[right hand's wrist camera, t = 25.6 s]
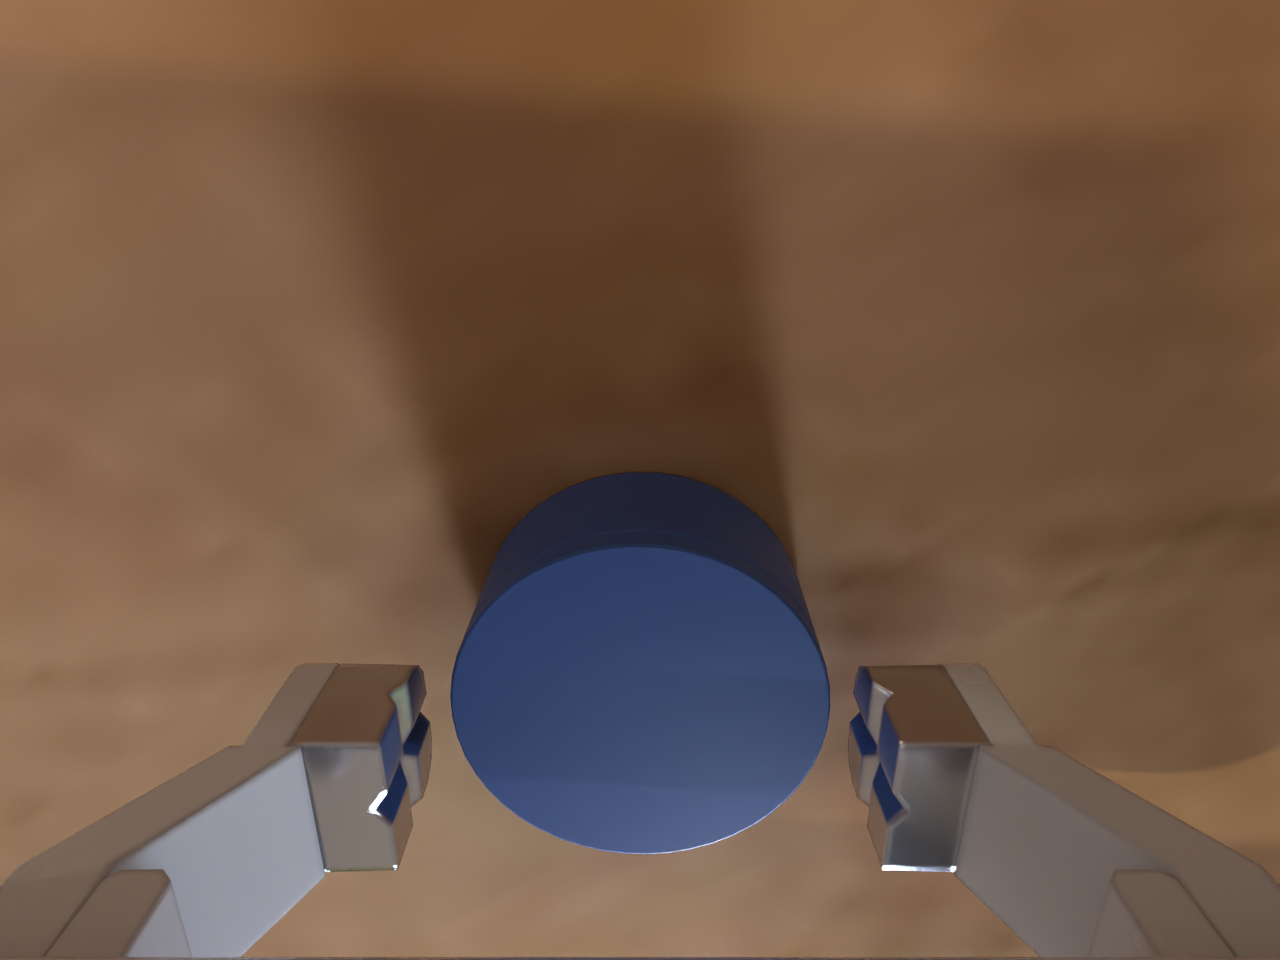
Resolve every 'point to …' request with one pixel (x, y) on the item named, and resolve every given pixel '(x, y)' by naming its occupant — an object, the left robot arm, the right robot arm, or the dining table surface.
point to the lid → (641, 668)
